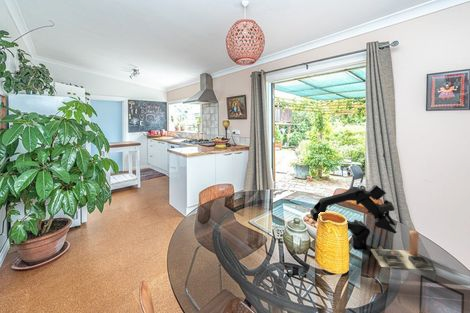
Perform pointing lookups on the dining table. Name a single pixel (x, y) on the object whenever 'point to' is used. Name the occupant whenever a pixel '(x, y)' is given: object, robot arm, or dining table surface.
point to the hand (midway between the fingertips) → (395, 228)
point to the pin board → (400, 259)
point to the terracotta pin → (413, 242)
